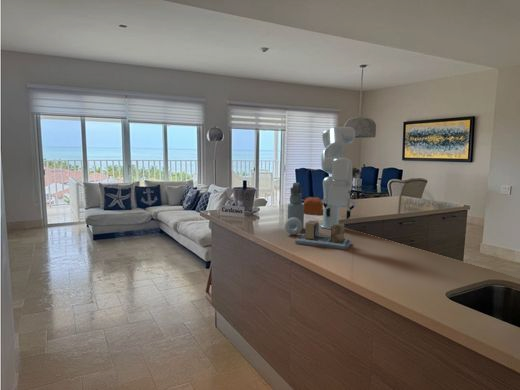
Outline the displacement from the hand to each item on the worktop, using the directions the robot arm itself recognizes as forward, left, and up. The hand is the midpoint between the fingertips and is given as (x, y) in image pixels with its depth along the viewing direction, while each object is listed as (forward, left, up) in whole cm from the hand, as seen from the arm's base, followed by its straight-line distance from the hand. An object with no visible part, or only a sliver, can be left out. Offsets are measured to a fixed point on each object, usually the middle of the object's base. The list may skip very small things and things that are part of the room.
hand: (338, 217), depth 175 cm
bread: (-91, -39, -15) cm, 100 cm away
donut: (-10, -27, -14) cm, 32 cm away
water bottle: (-25, -31, -14) cm, 43 cm away
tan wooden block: (0, 0, -13) cm, 13 cm away
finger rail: (+1, -7, -14) cm, 16 cm away
